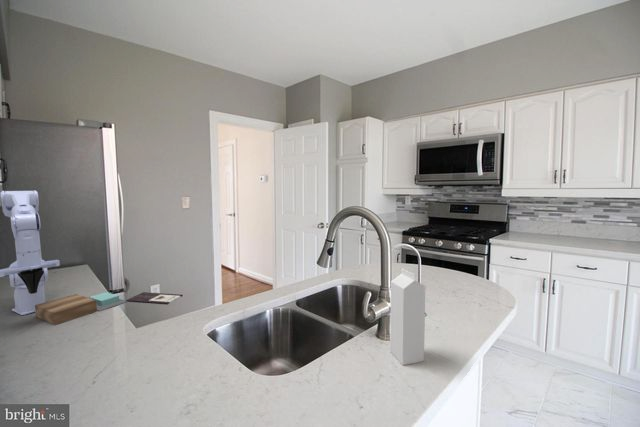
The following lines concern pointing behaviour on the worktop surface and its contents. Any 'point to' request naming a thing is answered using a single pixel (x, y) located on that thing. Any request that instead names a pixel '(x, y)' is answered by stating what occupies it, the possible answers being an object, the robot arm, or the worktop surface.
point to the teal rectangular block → (105, 298)
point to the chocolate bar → (154, 298)
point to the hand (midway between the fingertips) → (32, 292)
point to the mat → (111, 305)
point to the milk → (407, 318)
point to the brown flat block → (65, 309)
